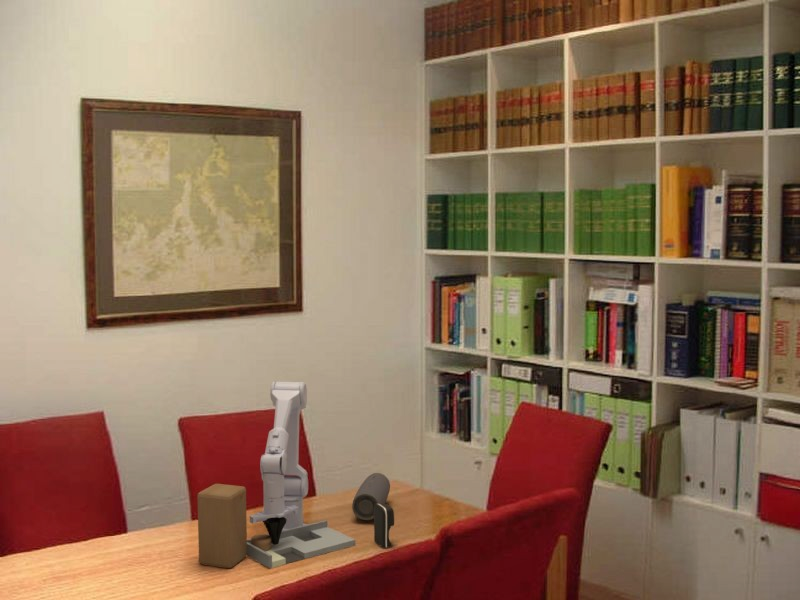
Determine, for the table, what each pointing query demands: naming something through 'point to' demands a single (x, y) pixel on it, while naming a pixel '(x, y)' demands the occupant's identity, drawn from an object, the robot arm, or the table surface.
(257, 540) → the puck
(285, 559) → the trap board
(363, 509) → the bluetooth speaker
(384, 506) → the battery charger
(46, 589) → the table surface
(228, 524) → the wooden block
